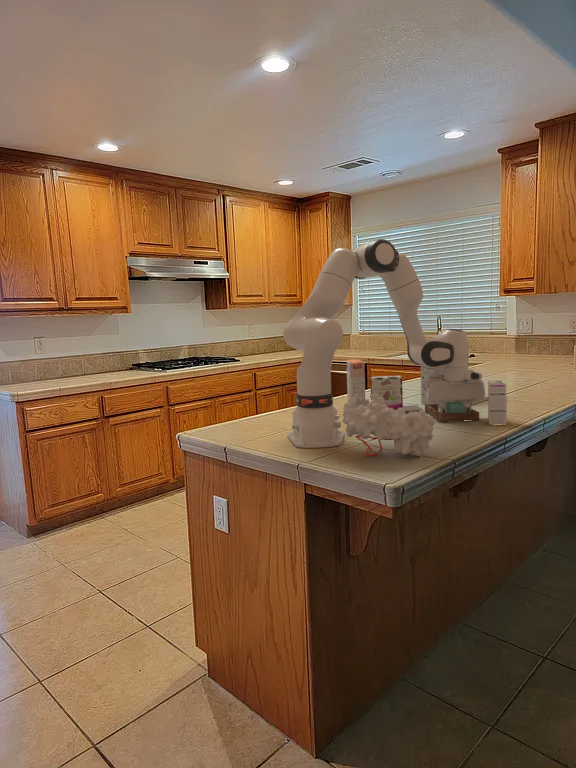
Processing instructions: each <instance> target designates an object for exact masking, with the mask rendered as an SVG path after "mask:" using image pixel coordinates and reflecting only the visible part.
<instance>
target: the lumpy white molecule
mask: <svg viewBox="0 0 576 768" xmlns="http://www.w3.org/2000/svg"><path fill="white" fill-rule="evenodd" d="M369 398H370V399H371V398H372V401H371V400H369V399H368V398H367V399H366V398H365V400H364V399H363V398H361V397H359V396H358V394H355V395H354V397H352V399H351V403H350V404H348V402H346V403H343V404H344V405H343V413H342V416H343V419H342V423H344V424H345V425H346V426H345V434H346V436H347V437H348V438H352V437H353V436H354V435H355V436H354V437H355V438H356V439H357V440H359V441H361V442H362V443H363V445H364V446H365V447H367V448H366V450H365V454H366V455H365V456H369V457H375V456H377V455H380V453H381V452H382V451H383V445H382V443H381V441H393V443H394V449H395V452H396V453H398V454H401V453H402V455H404V456H405V455H411V456H414V455H415V456H414V457H417V456H421V457H422V452H424V451H425V450H426V449H428V448H429V447H430V444H429V442H430V441H431V440H432V438H433V437H434V435H433V431H434V426H435V419H434V418H433V417H432V416H430V415H428V414H427V413H426V412H425V410H424V409H423V410H424V411H423V410H420V411H419V412H416V411H415V412H409V413H407V414H406V413H405V408H398V409H397V410H394V409H393V408H392V407H393V406H394V405H392V406H389V407H387V406H386V405H385V403H384V398H383V397H378V395H377V394H376V393H374V394H371V393H370V395H369ZM390 407H391V408H390ZM367 439H370V440H377V441H378V443H379V445H375V444H373V443H370V442H369V443H367V442H366V441H365V440H367ZM370 445H371V446H374V447H376V448H377V447H378V448H380V450H379V451H378V452H376V451H374V450H373V449H372V448H371V446H370ZM368 450H370V451H371V450H372V452H373V453H374V454H369V453H368Z"/></svg>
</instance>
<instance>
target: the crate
mask: <svg viewBox="0 0 576 768" xmlns="http://www.w3.org/2000/svg"><path fill="white" fill-rule="evenodd" d="M467 406H468V405H466V404H465V407H467ZM424 411H425V414H426V415H428V414H429V415H428V416H429V417H430V416H432V417H433V418H434V420H435V419H436V420H437V421H436V420H435V421H436V422H438V421H439V422H444V423H450V422H449V421H464V420H479V421H480V412H479V411H477V410H476V409H473V408H472V407H471V412H465V413H444V414H441V413H440V412H438V405H437V404H424ZM439 422H438V423H439Z"/></svg>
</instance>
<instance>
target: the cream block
mask: <svg viewBox="0 0 576 768" xmlns="http://www.w3.org/2000/svg"><path fill="white" fill-rule="evenodd" d="M446 402H456V401H442V404H441V406H442V407H443V408H445V413H446ZM438 412H440V408H439V406H438ZM443 414H444V413H443Z"/></svg>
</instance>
